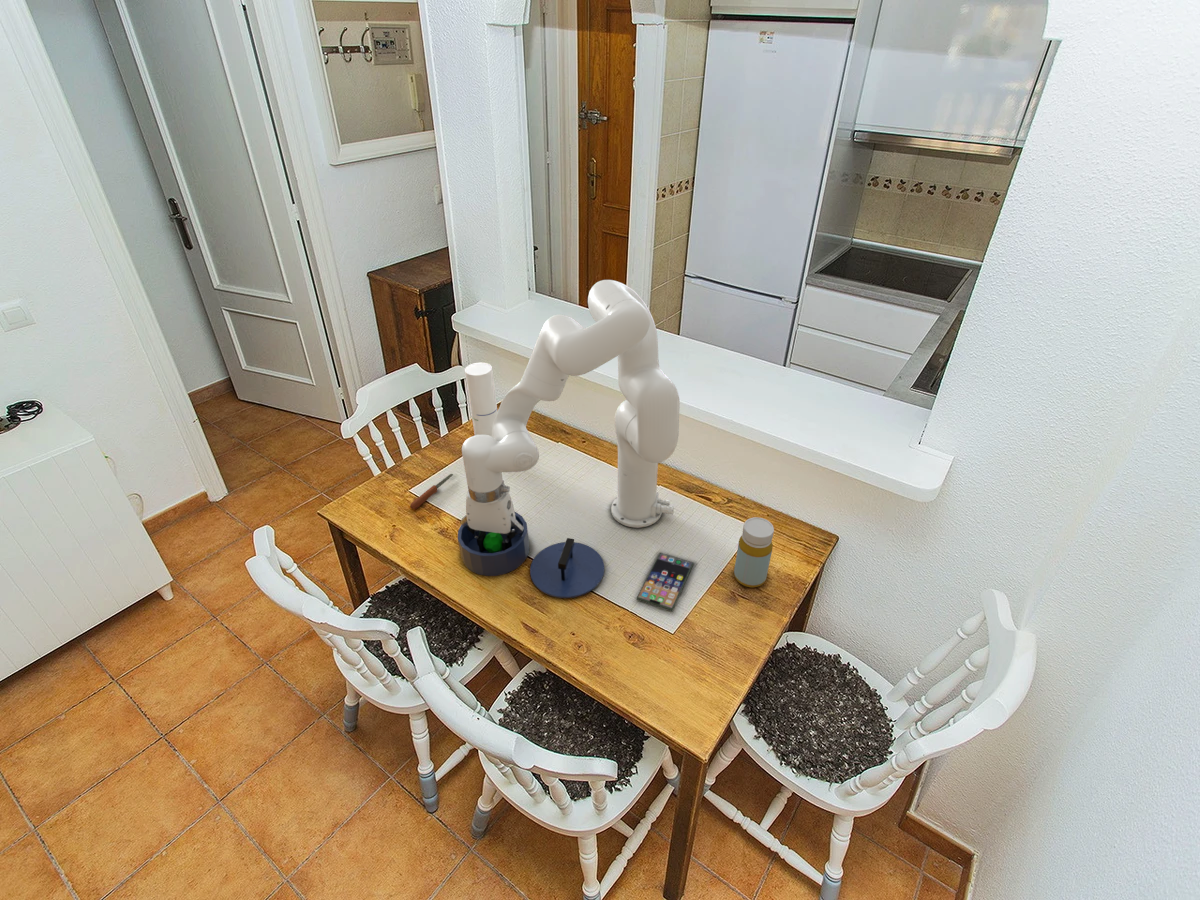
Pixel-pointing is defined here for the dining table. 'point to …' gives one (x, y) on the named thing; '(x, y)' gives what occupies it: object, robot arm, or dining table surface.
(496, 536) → the polyhedron
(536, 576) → the lid
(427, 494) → the kitchen knife
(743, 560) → the bottle
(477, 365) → the cylindrical container
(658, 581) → the smartphone
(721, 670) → the dining table surface
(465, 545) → the pot
